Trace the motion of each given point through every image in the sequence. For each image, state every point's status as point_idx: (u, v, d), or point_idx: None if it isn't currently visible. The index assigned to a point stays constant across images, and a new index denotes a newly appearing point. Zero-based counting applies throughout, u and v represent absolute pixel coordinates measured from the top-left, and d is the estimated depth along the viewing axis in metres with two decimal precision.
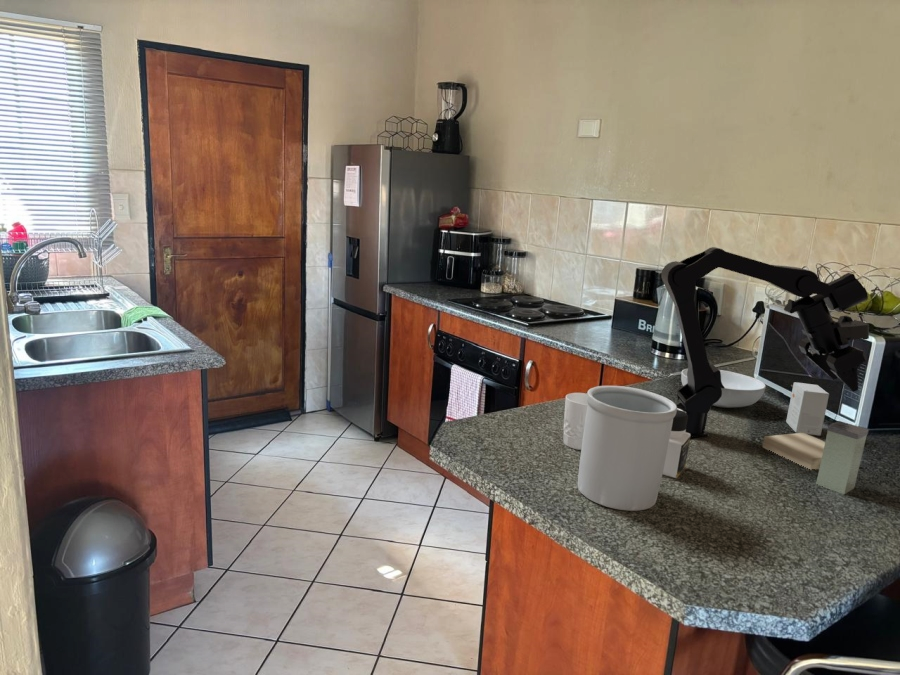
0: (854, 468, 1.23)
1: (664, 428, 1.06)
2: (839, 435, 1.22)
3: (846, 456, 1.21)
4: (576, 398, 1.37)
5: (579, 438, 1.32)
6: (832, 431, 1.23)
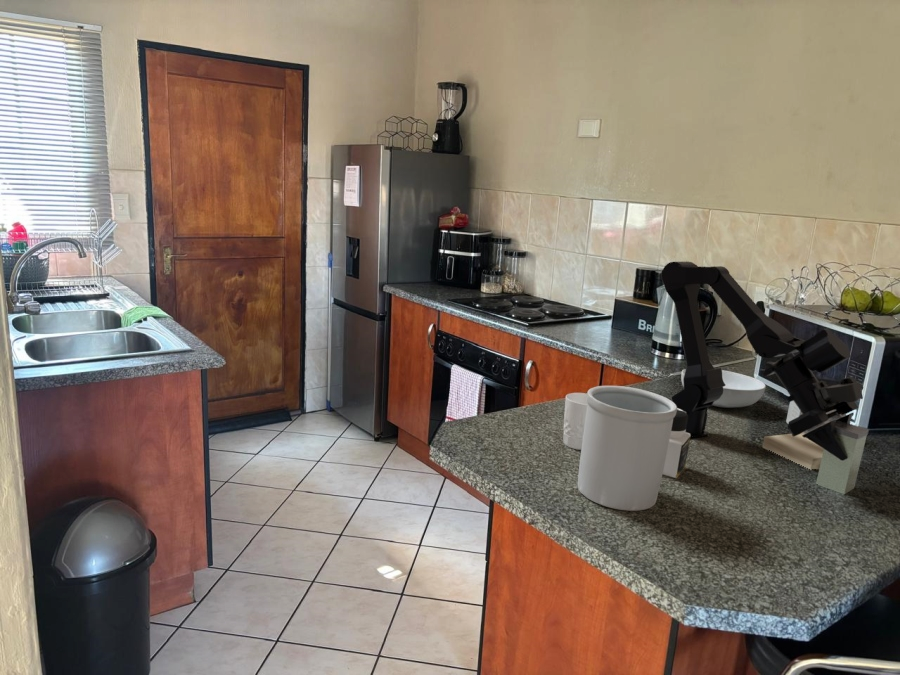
0: (854, 468, 1.23)
1: (664, 428, 1.06)
2: (839, 435, 1.22)
3: None
4: (576, 398, 1.37)
5: (579, 438, 1.32)
6: None
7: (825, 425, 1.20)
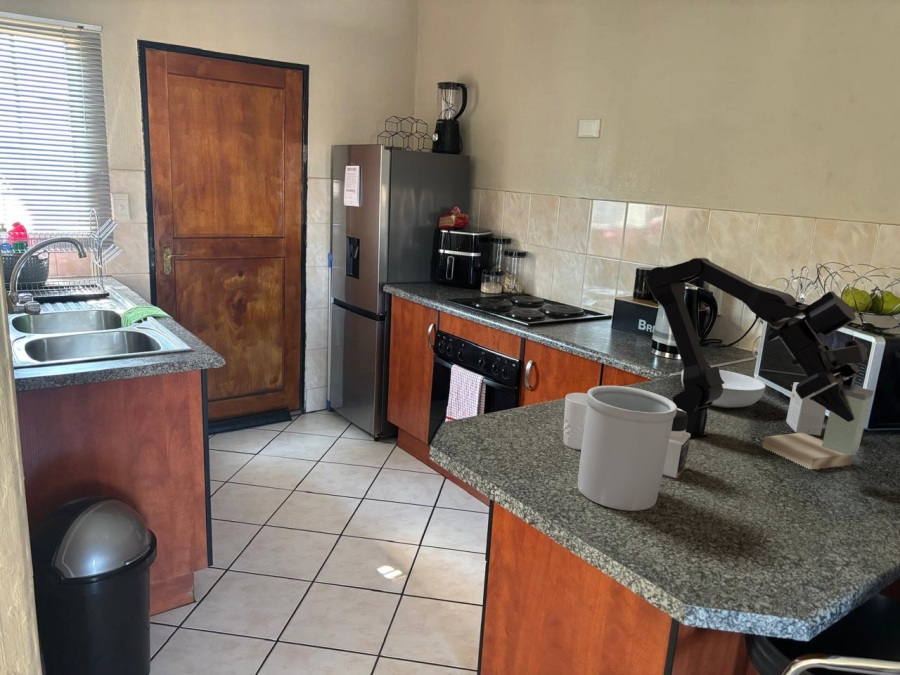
0: (860, 429, 1.23)
1: (664, 428, 1.06)
2: (846, 397, 1.22)
3: (853, 417, 1.22)
4: (576, 398, 1.37)
5: (579, 438, 1.32)
6: None
7: (833, 386, 1.20)
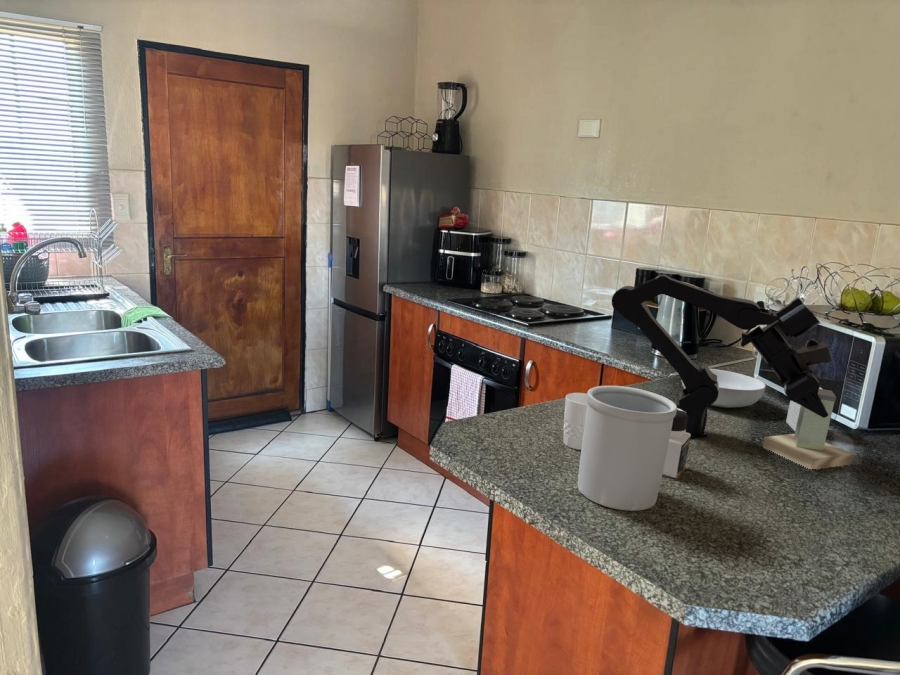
0: None
1: (664, 428, 1.06)
2: None
3: None
4: (576, 398, 1.37)
5: (579, 438, 1.32)
6: None
7: (816, 388, 1.30)
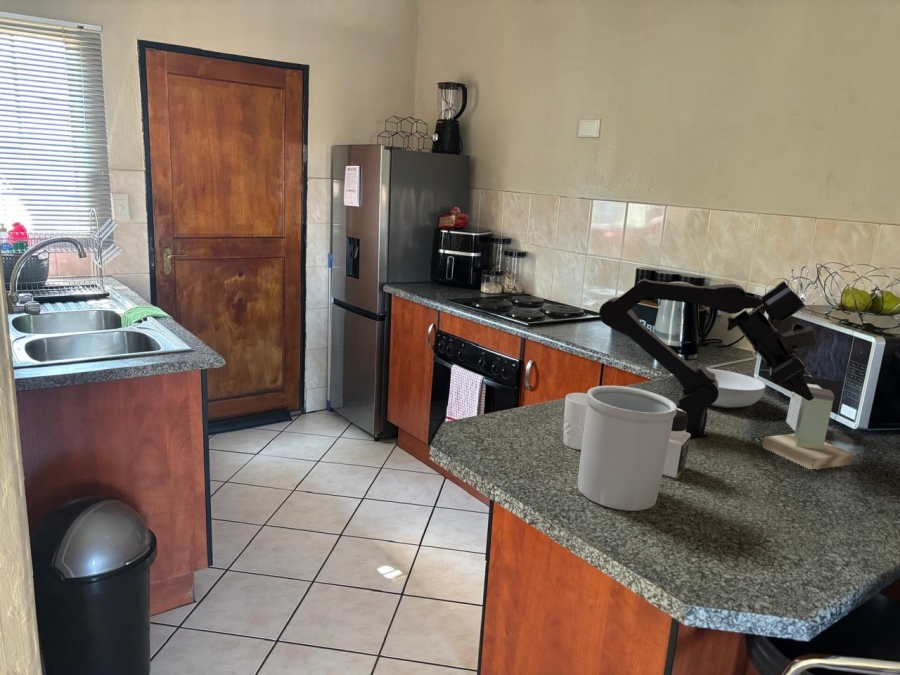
0: None
1: (664, 428, 1.06)
2: (817, 399, 1.35)
3: (823, 417, 1.35)
4: (576, 398, 1.37)
5: (579, 438, 1.32)
6: None
7: (801, 371, 1.30)
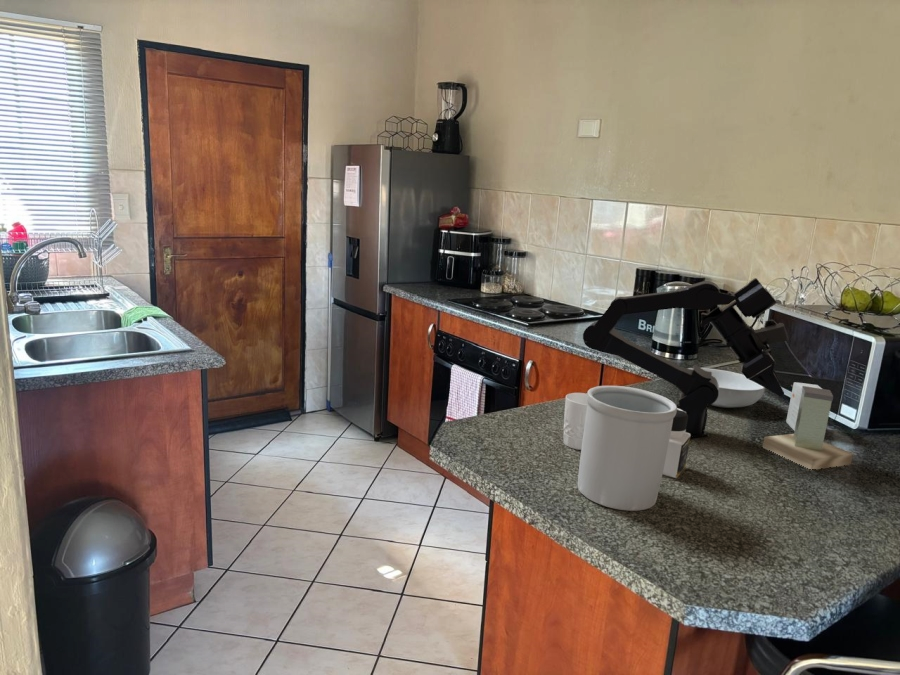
0: None
1: (664, 428, 1.06)
2: (815, 399, 1.35)
3: (822, 417, 1.35)
4: (576, 398, 1.37)
5: (579, 438, 1.32)
6: (809, 397, 1.36)
7: (771, 366, 1.32)
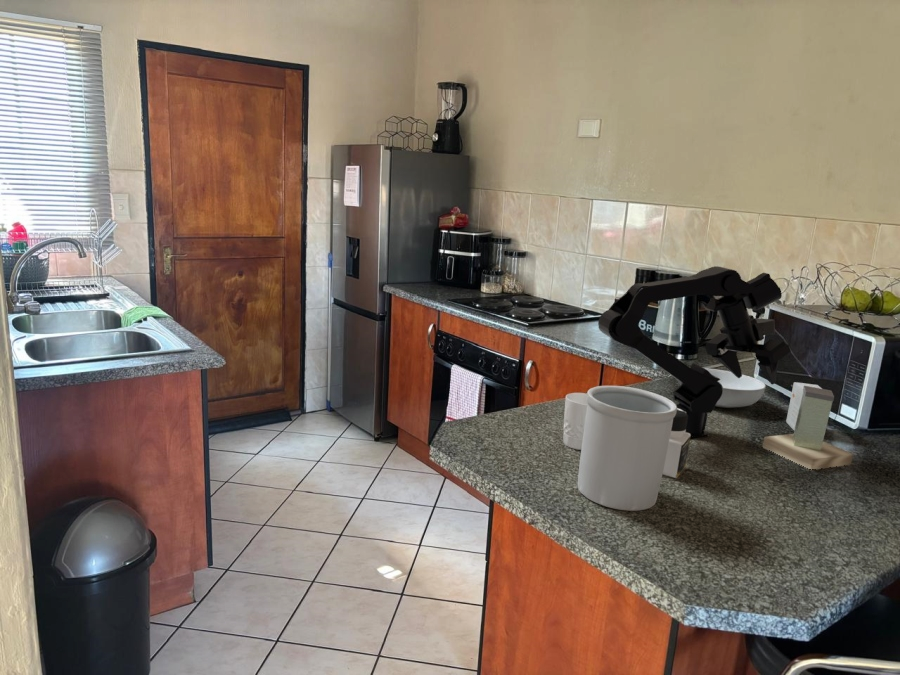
0: None
1: (664, 428, 1.06)
2: (816, 399, 1.35)
3: (822, 417, 1.36)
4: (576, 398, 1.37)
5: (579, 438, 1.32)
6: (810, 396, 1.36)
7: None
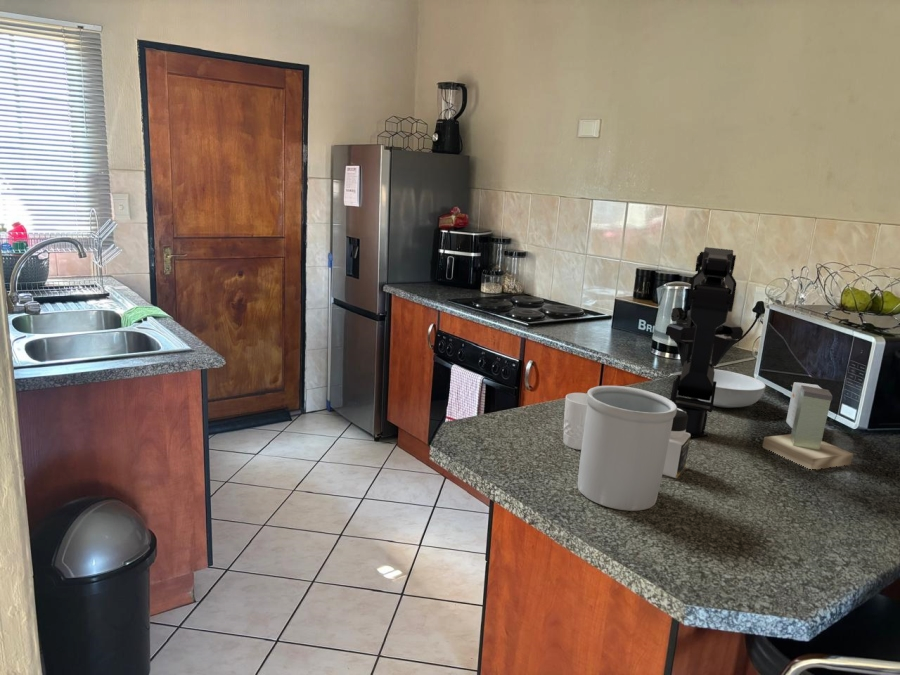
0: None
1: (664, 428, 1.06)
2: (814, 399, 1.36)
3: (821, 416, 1.36)
4: (576, 398, 1.37)
5: (579, 438, 1.32)
6: (808, 396, 1.36)
7: None
